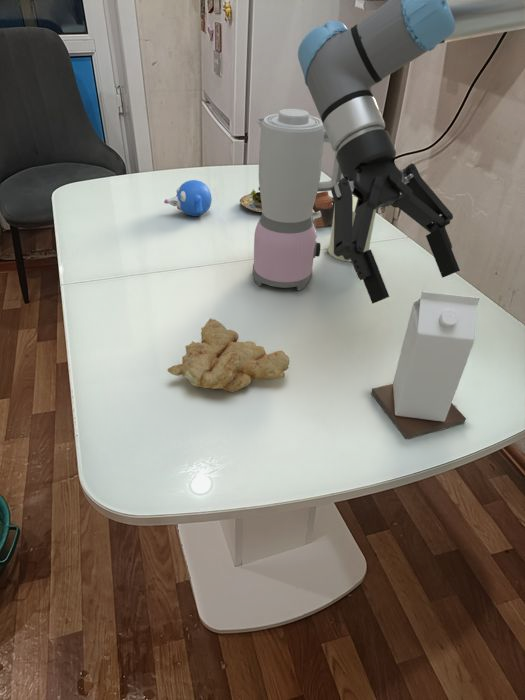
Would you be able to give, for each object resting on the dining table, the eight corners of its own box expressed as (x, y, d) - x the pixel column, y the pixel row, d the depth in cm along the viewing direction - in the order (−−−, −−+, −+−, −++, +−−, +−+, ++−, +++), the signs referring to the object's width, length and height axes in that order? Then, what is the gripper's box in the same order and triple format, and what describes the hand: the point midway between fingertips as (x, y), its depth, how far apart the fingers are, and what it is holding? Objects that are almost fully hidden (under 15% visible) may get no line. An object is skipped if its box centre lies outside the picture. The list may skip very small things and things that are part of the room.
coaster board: (425, 380, 82) (426, 375, 81) (464, 423, 75) (466, 418, 74) (370, 393, 79) (371, 388, 79) (406, 439, 72) (407, 434, 71)
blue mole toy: (159, 209, 131) (156, 176, 126) (203, 203, 135) (202, 171, 130) (171, 228, 123) (169, 194, 117) (218, 221, 126) (218, 188, 121)
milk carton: (392, 383, 80) (419, 277, 68) (438, 389, 79) (474, 283, 67) (394, 416, 74) (425, 306, 62) (444, 422, 73) (485, 313, 62)
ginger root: (151, 361, 81) (158, 317, 77) (231, 346, 91) (241, 307, 87) (203, 422, 72) (215, 377, 68) (286, 398, 82) (300, 357, 78)
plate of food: (233, 201, 137) (233, 174, 132) (273, 196, 140) (275, 169, 136) (250, 219, 128) (250, 190, 123) (292, 213, 132) (294, 185, 127)
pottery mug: (304, 231, 125) (297, 197, 123) (302, 232, 134) (295, 200, 133) (353, 219, 124) (346, 184, 123) (347, 220, 133) (340, 188, 132)
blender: (249, 290, 101) (253, 119, 82) (254, 261, 111) (259, 101, 91) (328, 296, 101) (352, 125, 81) (326, 266, 111) (347, 106, 91)
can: (329, 241, 120) (335, 191, 113) (368, 245, 119) (377, 195, 112) (326, 259, 113) (333, 207, 106) (368, 264, 112) (378, 212, 105)
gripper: (406, 144, 79) (457, 272, 78) (272, 170, 67) (331, 319, 67) (442, 115, 72) (498, 255, 71) (300, 138, 61) (365, 304, 60)
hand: (417, 287), depth 69 cm, fingers open, 13 cm apart
